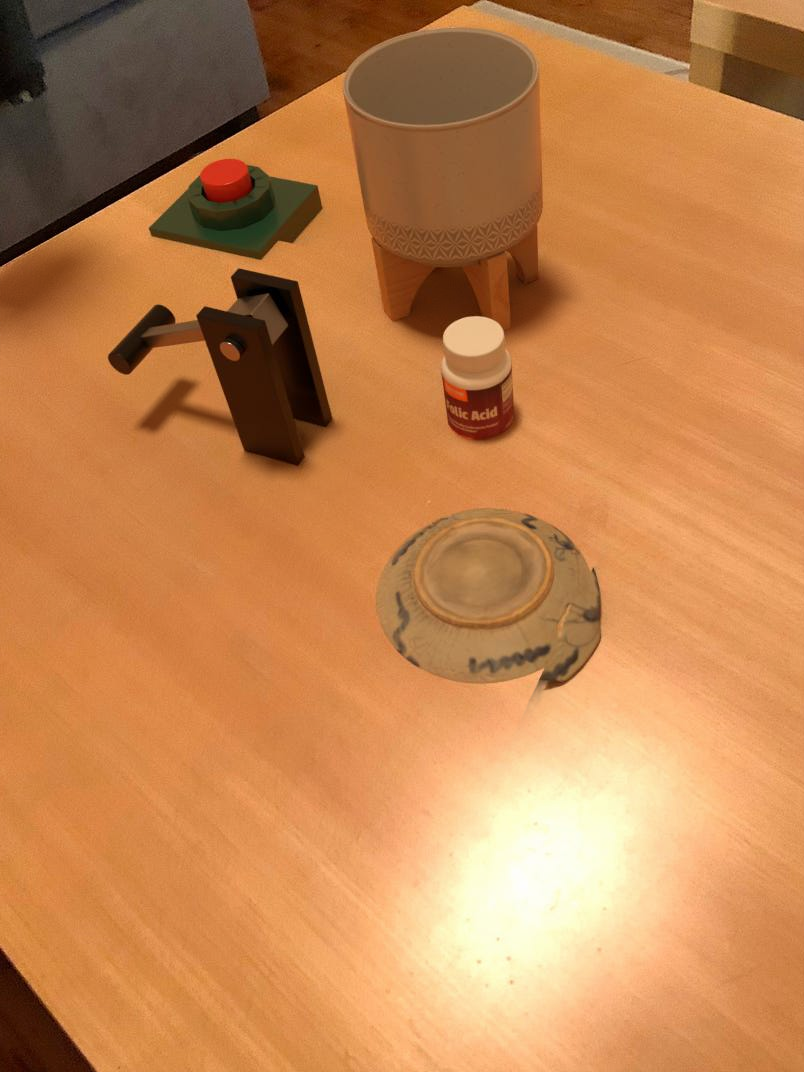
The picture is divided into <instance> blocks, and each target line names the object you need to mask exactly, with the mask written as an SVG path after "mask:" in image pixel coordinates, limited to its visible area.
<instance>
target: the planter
mask: <svg viewBox="0 0 804 1072" xmlns="http://www.w3.org/2000/svg"><path fill="white" fill-rule="evenodd" d="M540 86H541V85H540V65H539V60H538V58H537V57H536V55H535V53H534V51H532V49H531V48H530V47H529V46H528V45H527V44H525V43H524V42H523V41H521V40H519V39H518V38H515V37H513V36H511V35H509V34H506V33H503V32H500V31H495V30H493V29H486V28H482V27H472V26H471V27H470V26H444V27H432V28H425V29H421V30H416V31H412V32H407V33H403V34H401V35H398V36H394V37H392V38H390V39H386V40H383V41H382V42H380V43H378V44H376V45H374V46H372V47H371V48H369V49H368V50H366V51H364V52H363V53H362V54H361V55H359V56H358V57H357V58H355V60H354V61H352V63H351V64H350V65H349V67H348V68H347V69H346V71H345V73H344V76H343V79H342V94H343V100H344V105H345V111H346V115H347V122H348V127H349V132H350V137H351V142H352V150H353V155H354V160H355V165H356V166H355V167H356V172H357V177H358V181H359V182H358V183H359V188H360V194H361V199H362V204H363V205H362V206H363V210H364V216H365V221H366V225H367V229H368V232H369V233H370V235H371V238H370V240H371V245H372V250H373V257H374V262H375V268H376V273H377V278H378V284H379V290H380V295H381V301H382V302H381V303H382V307H383V312H384V313H385V315H386V316H387V317H388V318H389V320H390V321H391V322H395V321H397V320H400V319H403V318H405V317H407V316H410V312H411V308H412V305H413V301H414V299H415V296H416V294H417V292H418V290H419V289H420V287H421V285H422V284H423V282H424V281H425V280H426V279H427V277H428V276H429V275H430V274H431V273H432V272H433V271H434V270H435V269H436V268H459V267H461V268H462V270H463V271H464V273H465V276H466V277H467V279H468V282H469V284H470V286H471V287H472V290H473V292H474V296H475V297H476V300H477V303H478V307H479V310H480V313H481V317H487V318H490V319H492V320H494V321H496V322H497V323H498V324H499V325H500V326H501V327H502V329H503V331H504V332H505V331H506V330H509V329H511V327H512V323H511V307H510V291H509V289H510V288H509V275H508V259H507V253H509V254H510V255H509V256H510V257H511V259H512V260H513V263H514V266H515V274H516V275H517V277H518V278H519V279H520V280H521V281H522V282H523V283H524V284H528V283H531V282H533V281H536V280H539V278H540V271H539V269H540V268H539V243H538V241H539V240H538V237H539V236H538V223H539V222H540V219H541V217H542V214H543V207H544V195H543V194H544V193H543V160H542V159H543V158H542V157H543V156H542V123H541V91H540V90H541V88H540Z"/></svg>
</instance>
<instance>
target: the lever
mask: <svg viewBox="0 0 804 1072" xmlns="http://www.w3.org/2000/svg"><path fill="white" fill-rule="evenodd" d="M226 311H227V312H231V313H236V314H240V315H244V316H248V317H252V318H257V319H261V320H265V322H266V326H267V329H268V332H269V336H270V339H271V343H272V345H273V344H274V342H275V341H276V340H277V339H278V338H279V336H280V335H281V334H282V333H283V331H284V330H285V329H286V328H287V326H288V323H287V322H286V320H285V319H284V317H283V315H282V314H281V312H280V310H279V309H278V307H277V306H276V304H275V302H274V301H273V299H272V297H271V296H270V294H269V293H268V294H262V295H256V296H250V297H244V298H239V299H237V298H236V300H235V302H233V304H232V305H231V306H230V307H229V309H227V310H226ZM198 342H205V339H204V337H203V334H202V331H201V328H200V325H199V322H198V320H197V319H194V320H189V321H183V322H176V317H175V315H174V313H173V312H172V311H171V309H169V308H168V307H167V306H165V305H163V304H153V306H152V307H151V308H150V309H149V311H148V312H147V313H146V314H145V315H144V316H143V317H142V318H141V319H140V320H139V321H138V322H137V323H136V325H134V326H133V328H132V329H131V330H129V332H128V333H127V334H126V335H125V336H124V337H123V338H122V339H121V340H120V342H119V343H118V344H117V345H115V347H114V348H113V349H112V350H111V351H110V352H109V353H108V355H107V360H108V362H109V365H110V366H111V367H112V368H113V369H114V370H116V371H117V372H118V373H120V374H122V375H124V376H128V375H131V374H132V373H133V372H134V371H135V369H136V368H137V367H138V366H139V365H140V364H141V362H143V360H144V359H145V358H146V357H147V356H148V355H149V354H150V353H151V352H152V351H153V350H154V349H155V348H163V347H170V346H179V345H184V344H191V343H192V344H193V343H198Z"/></svg>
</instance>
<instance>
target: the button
mask: <svg viewBox="0 0 804 1072" xmlns="http://www.w3.org/2000/svg"><path fill="white" fill-rule="evenodd" d="M247 165H248V164H247V163H245V162H244V161H243V160H240V159H237V158H222V159H218V160H216V161H212V162H210V163H209V164H207V165H205V166H204V168H203V169H201V171H200V173H199V175H200V178H201V181H202V185H203V188H204V191H205V194H206V197H207V199H208V200H209V201H212V202H217V203H224V202H232V201H236V200H238V199H241V198H243V197H245V196H247V195H248V194H249V193H250V192H251V191H252V188H253V185H252V181H251V178H250V174H249V170H248V167H247Z"/></svg>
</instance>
